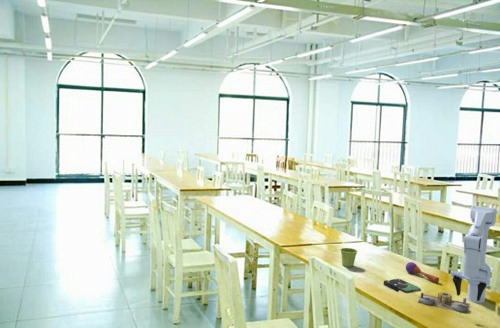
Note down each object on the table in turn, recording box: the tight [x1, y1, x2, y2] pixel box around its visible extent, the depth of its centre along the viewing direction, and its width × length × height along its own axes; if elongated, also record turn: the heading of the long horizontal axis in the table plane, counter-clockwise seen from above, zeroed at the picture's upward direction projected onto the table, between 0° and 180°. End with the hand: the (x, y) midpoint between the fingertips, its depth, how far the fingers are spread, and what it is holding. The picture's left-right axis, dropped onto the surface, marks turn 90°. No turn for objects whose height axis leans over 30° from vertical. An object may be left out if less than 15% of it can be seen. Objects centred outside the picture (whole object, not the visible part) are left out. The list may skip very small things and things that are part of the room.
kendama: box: [405, 261, 440, 284], centre depth 245 cm, size 6×6×20 cm
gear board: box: [417, 292, 470, 314], centre depth 205 cm, size 13×20×5 cm, turn 61°
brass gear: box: [437, 291, 453, 303], centre depth 208 cm, size 6×6×3 cm
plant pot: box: [340, 247, 358, 268], centre depth 258 cm, size 9×9×9 cm
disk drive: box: [383, 278, 422, 294], centre depth 225 cm, size 10×3×15 cm
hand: (468, 297), depth 190 cm, fingers open, 7 cm apart
